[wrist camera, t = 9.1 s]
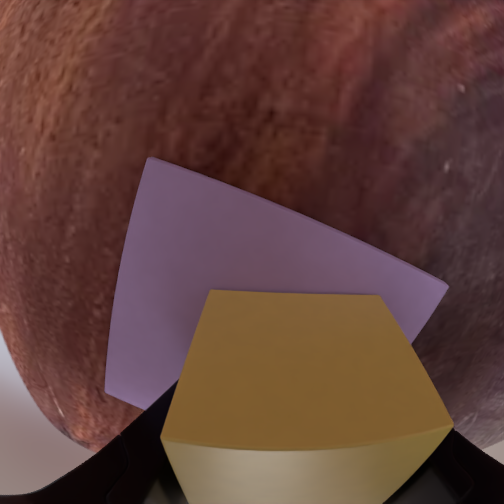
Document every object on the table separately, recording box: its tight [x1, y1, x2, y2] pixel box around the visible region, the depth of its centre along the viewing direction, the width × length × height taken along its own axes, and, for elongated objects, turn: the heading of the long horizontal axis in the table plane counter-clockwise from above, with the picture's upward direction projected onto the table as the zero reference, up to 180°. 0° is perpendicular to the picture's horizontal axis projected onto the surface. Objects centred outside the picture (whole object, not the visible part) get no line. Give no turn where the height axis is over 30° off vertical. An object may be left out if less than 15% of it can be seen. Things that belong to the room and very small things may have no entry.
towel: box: [105, 157, 449, 410], centre depth 8 cm, size 8×8×1 cm
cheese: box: [160, 289, 454, 504], centre depth 6 cm, size 5×4×4 cm
